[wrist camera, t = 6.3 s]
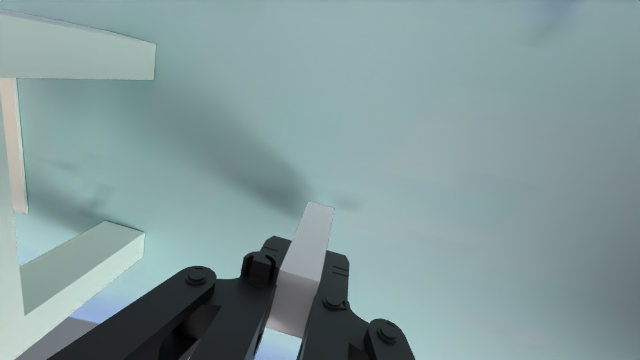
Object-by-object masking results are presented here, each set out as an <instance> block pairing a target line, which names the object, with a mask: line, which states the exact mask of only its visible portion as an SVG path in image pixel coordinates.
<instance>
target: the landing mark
mask: <svg viewBox="0 0 640 360" xmlns="http://www.w3.org/2000/svg"><path fill="white" fill-rule="evenodd" d="M0 93H1V102H2V112H3V121H4V130H5V140H6V149H7V158H8V167H9V177H10V186H11V195H12V204H13V211H17V212H20V213H24V214H27V213H28V204H27V192H26V181H25V170H24V159H23V147H22V136H21V125H20V114H19V103H18V91H17V80H16V78H0Z"/></svg>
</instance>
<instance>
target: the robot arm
mask: <svg viewBox="0 0 640 360" xmlns="http://www.w3.org/2000/svg"><path fill="white" fill-rule="evenodd" d="M334 209H335V208H332V207H328V206H325V205H321V204H318V203H314V202H311V201H309V202H308V205H307V207H306V209H305V212H304V214H303V216H302V219H301V221H300V223H299V226H298V228H297V230H296V233H295V235H294V237H293V240H292V241H291V240H287V239H284V238H280V237H277V236H272V237H271V238H269V239H267V240H266V242H265V243H264V245H263V247H262V248H261V250H260V251H257V252H251V253H249V254H247V255H246V256H245V257H244V259H243V265H242V270H241V275H240V277H239V278H236V279H216V275H215V272H214V271H212V270H211V269H210V268H207V267H204V266H192V267H187V268H185V269H183V270H181V271H180V272H178V273H177V274H175V275H174V276H172V277H171V278H169V279H168V280H166V281H164V282H163V283H161V284H160V285H158V286H157V287H155V288H154V289H152V290H151V291H149V292H148V293H146V294H145V295H143V296H142V297H140V298H139V299H137V300H136V301H134V302H133V303H131V304H130V305H128V306H127V307H125V308H124V309H122V310H121V311H119V312H118V313H116V314H115V315H113V316H112V317H110V318H109V319H107V320H106V321H104V322H103V323H101V324H100V325H98V326H97V327H95V328H93V329H92V330H91V331H89V332H87V333H86V334H84V335H83V336H82V337H80V338H78V339H77V340H75V341H74V342H72V343H71V344H69V345H68V346H66V347H65V348H64V349H62V350H60V351H59V352H57V353H56V354H54V355H53V356H51V357H50V358H48V359H47V360H187V359H188V358H189V357H190V356H191V357H190V359H189V360H254V358H255V356H256V353H257V350H258V348H259V345H260V343H261V340H262V336H263V332H264V328H265V326H266V328H269V329H273V330H276V331H279V332H282V333H286V334H289V335H292V336H296V337H299V338H302V343H301V346H300V349H299V353H298V356H297V359H296V360H415V358H414V355H413V353H412V351H411V348H410V346H409V344H408V342H407V339H406V337H405V335H404V334H403V332H402V330H401V329H400V328H399V327H398V326H396V325H395V324H394V323H392V322H390V321H388V320H385V319H374V320H373V321H371V322H370V324H369V323H368V322H366V321H364V320H362V319H361V318H359V317H358V316H357V315H355V314H354V313H353V312H352V310H351V309H350V305H349V302H348V301H347V297H348V279H349V278H348V277H349V261H348V260H347V258H346V256H345V255H342V254H338V253H335V252H331V251H328V250H326V249H327V244H328V239H329V234H330V229H331V224H332V219H333V214H334Z"/></svg>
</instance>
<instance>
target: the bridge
mask: <svg viewBox="0 0 640 360" xmlns="http://www.w3.org/2000/svg"><path fill="white" fill-rule="evenodd" d="M155 53H156V44H154V43H151V42H147V41H143V40H139V39H136V38H132V37H128V36H125V35H121V34H117V33H113V32H110V31H106V30H101V29H96V28H91V27H86V26H82V25H77V24H72V23H67V22H62V21H57V20H52V19H48V18H43V17H38V16H33V15H28V14H23V13H19V12H14V11H9V10H4V9H0V78H42V79H113V80H154V70H155ZM144 240H145V232H141V231H138V230H135V229H131V228H128V227H124V226H121V225H118V224H114V223H111V222H108V221H104V222H102V223H100V224H98V225H96V226H95V227H93V228H91V229H89V230H87V231H85V232H84V233H82V234H80V235H78V236H76V237H74V238H72V239H71V240H69V241H67V242H65V243H63V244H61V245H60V246H58V247H56V248H54V249H52V250H50V251H48V252H47V253H45V254H43V255H41V256H39V257H37V258H36V259H34V260H32V261H30V262H28V263H26V264H24V265H23V266H21V267H19V260H18V251H17V241H16V232H15V223H14V214H13V204H12V195H11V186H10V177H9V167H8V158H7V149H6V140H5V130H4V121H3V112H2V102H1V93H0V360H14V359H16V358H17V357H18V356H19V355H20V354H22V353H23V352H24V351H26V350H27V349H28V348H29V347H31V346H32V345H33V344H34V343H36V342H37V341H38V340H39V339H41V338H42V337H43V336H44V335H46V334H47V333H48V332H49V331H51V330H52V329H53V328H54V327H56V326H57V325H58V324H59V323H61V322H62V321H63V320H64V319H66V318H67V317H68V316H69V315H71V314H72V313H73V312H74V311H76V310H77V309H78V308H79V307H81V306H82V305H83V304H84V303H86V302H87V301H88V300H89V299H91V298H92V297H93V296H94V295H96V294H97V293H98V292H99V291H101V290H102V289H103V288H104V287H106V286H107V285H108V284H109V283H111V282H112V281H113V280H114V279H116V278H117V277H118V276H119V275H121V274H122V273H123V272H124V271H126V270H127V269H128V268H129V267H131V266H132V265H133V264H134V263H136V262H137V261H138V260H139V259H141V258H142V257H143V256H144Z"/></svg>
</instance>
